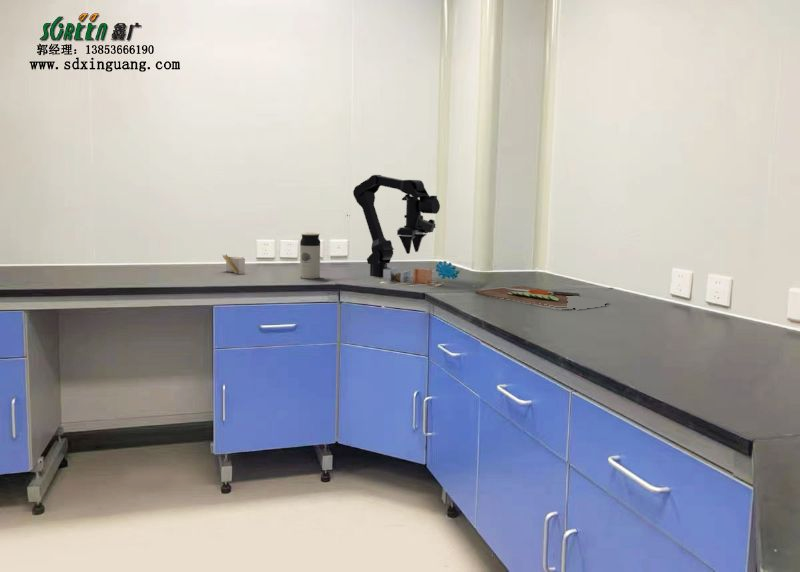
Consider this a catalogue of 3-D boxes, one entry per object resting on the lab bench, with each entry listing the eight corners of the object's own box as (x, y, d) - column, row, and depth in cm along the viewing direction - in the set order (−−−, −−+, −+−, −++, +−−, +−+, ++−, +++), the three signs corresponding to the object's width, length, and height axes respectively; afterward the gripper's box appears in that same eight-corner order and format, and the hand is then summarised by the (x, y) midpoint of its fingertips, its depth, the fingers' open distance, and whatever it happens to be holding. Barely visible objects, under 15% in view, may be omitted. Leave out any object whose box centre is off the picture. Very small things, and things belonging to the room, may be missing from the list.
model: (239, 275, 278) (239, 256, 277) (221, 272, 284) (220, 254, 283) (245, 274, 281) (244, 256, 280) (226, 272, 287) (226, 254, 286)
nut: (393, 283, 258) (392, 274, 258) (397, 282, 261) (395, 272, 261) (402, 282, 257) (400, 272, 256) (405, 280, 260) (404, 271, 260)
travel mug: (309, 275, 279) (309, 232, 276) (323, 277, 274) (324, 233, 272) (295, 277, 273) (296, 232, 270) (310, 279, 268) (310, 234, 265)
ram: (400, 282, 255) (400, 268, 254) (407, 280, 262) (407, 266, 261) (426, 285, 251) (426, 270, 251) (432, 282, 258) (432, 268, 257)
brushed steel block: (383, 282, 257) (383, 269, 257) (391, 279, 265) (391, 267, 264) (390, 282, 256) (390, 269, 255) (398, 280, 264) (398, 267, 263)
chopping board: (467, 293, 247) (467, 285, 247) (517, 288, 263) (517, 280, 263) (566, 313, 212) (566, 304, 212) (616, 306, 228) (617, 297, 228)
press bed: (378, 285, 256) (378, 281, 256) (390, 282, 267) (390, 277, 267) (433, 290, 248) (433, 285, 248) (443, 286, 259) (443, 281, 259)
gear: (438, 277, 271) (434, 258, 277) (433, 286, 276) (429, 267, 282) (463, 280, 275) (458, 261, 281) (457, 289, 280) (452, 270, 286)
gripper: (424, 214, 250) (423, 256, 253) (440, 212, 267) (439, 252, 270) (397, 212, 254) (396, 254, 257) (414, 211, 271) (413, 250, 274)
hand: (412, 252), depth 264 cm, fingers open, 9 cm apart
